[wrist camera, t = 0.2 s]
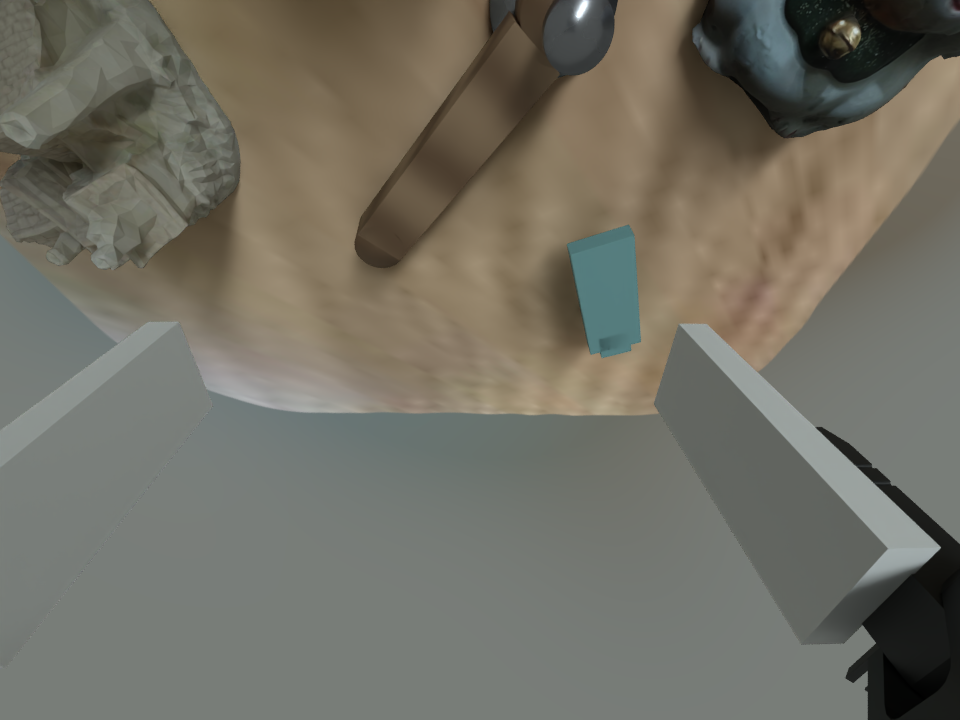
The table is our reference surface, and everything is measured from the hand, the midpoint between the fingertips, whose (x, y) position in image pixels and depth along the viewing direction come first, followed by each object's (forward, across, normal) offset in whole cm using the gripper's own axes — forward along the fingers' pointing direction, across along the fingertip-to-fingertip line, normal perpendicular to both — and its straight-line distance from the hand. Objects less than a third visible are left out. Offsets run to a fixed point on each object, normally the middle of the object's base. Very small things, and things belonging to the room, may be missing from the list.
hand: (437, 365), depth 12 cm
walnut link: (+26, 0, +4) cm, 26 cm away
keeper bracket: (+31, +14, -8) cm, 35 cm away
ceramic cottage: (+26, -24, +4) cm, 36 cm away
